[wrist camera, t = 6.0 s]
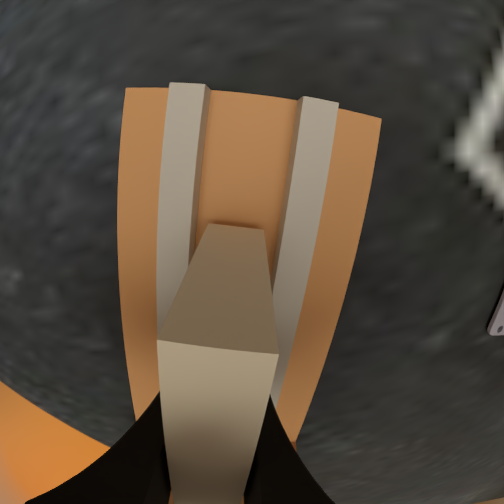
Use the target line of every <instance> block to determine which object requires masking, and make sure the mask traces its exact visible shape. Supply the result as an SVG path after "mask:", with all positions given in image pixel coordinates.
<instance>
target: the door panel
mask: <svg viewBox="0 0 504 504" xmlns="http://www.w3.org/2000/svg"><path fill="white" fill-rule="evenodd" d="M157 354H158V372H159V386H160V399H161V410H162V420H163V430H164V439H165V447H166V455H167V463H168V470H169V477H170V483H171V490H172V496H173V501H174V504H241V501H242V497H243V494H244V491H245V487H246V483H247V480H248V476H249V473H250V469H251V465H252V462H253V458H254V454H255V451H256V447H257V443H258V439H259V435H260V431H261V427H262V424H263V420H264V416H265V412H266V407H267V403H268V399H269V395H270V391H271V387H272V383H273V378H274V374H275V370H276V365H277V361H278V357H279V350H278V341H277V333H276V324H275V316H274V307H273V299H272V291H271V283H270V275H269V267H268V259H267V251H266V243H265V235H264V230H262V229H254V228H245V227H237V226H228V225H220V224H211V223H208V225H207V227H206V229H205V232H204V234H203V236H202V238H201V240H200V242H199V244H198V247H197V249H196V251H195V253H194V255H193V258H192V260H191V262H190V264H189V266H188V269H187V271H186V273H185V275H184V278H183V280H182V282H181V284H180V287H179V289H178V291H177V293H176V296H175V298H174V300H173V303H172V305H171V307H170V310H169V312H168V314H167V317H166V319H165V321H164V324H163V326H162V328H161V331H160V333H159V336H158V338H157Z"/></svg>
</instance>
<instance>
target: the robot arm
mask: <svg viewBox="0 0 504 504" xmlns="http://www.w3.org/2000/svg"><path fill="white" fill-rule="evenodd" d="M487 331H488V333H489V334H490V335H492V336H495V335H504V290H503V293H502V295H501V298H500V300H499V303H498V305H497V307H496V310H495V312H494V314H493V317H492V319H491V321H490V323H489V326H488V329H487ZM170 494H171V483H170V477H169V470H168V463H167V455H166V447H165V439H164V430H163V420H162V410H161V399H160V391H159V392H158V394H157V395H156V397H155V398H154V399H153V401H152V402H151V404H150V405H149V406H148V407H147V409H146V410H145V411H144V412H143V414H142V415H141V416H140V417H139V419H138V420H137V421H136V422H135V423H134V424H133V426H132V427H131V428H130V429H129V430H128V431H127V432H126V433H125V434H124V435H123V436H122V437H121V438H120V439H119V440H118V441H117V442H116V443H115V444H114V445H113V446H112V447H111V448H110V449H109V450H108V451H107V452H106V453H104V454H103V455H102V456H101V457H100V458H98V459H97V460H96V461H95V462H93V463H92V464H91V465H90V466H88V467H87V468H86V469H84V470H83V471H81V472H80V473H79V474H77V475H75V476H74V477H72V478H71V479H69V480H67V481H66V482H64V483H63V484H61V485H59V486H58V487H56V488H54V489H52V490H50V491H48V492H46V493H44V494H42V495H39V496H37V497H35V498H33V499H31V500H28V501H27V502H25V504H169V498H170ZM243 496H244V504H335V503H334V502H333V501H332V500H331V499H330V498H329V497H328V496H327V494H326V493H325V492H324V491H323V490H322V488H321V487H320V486H319V485H318V483H317V482H316V481H315V479H314V478H313V477H312V475H311V474H310V473H309V471H308V470H307V468H306V467H305V465H304V464H303V462H302V461H301V459H300V457H299V456H298V454H297V452H296V451H295V449H294V447H293V445H292V444H291V442H290V440H289V438H288V436H287V434H286V432H285V430H284V428H283V426H282V424H281V421H280V419H279V417H278V414H277V412H276V409H275V407H274V404H273V401H272V398H271V395H269V399H268V403H267V407H266V412H265V416H264V420H263V424H262V427H261V431H260V435H259V439H258V443H257V447H256V451H255V454H254V458H253V462H252V465H251V469H250V473H249V476H248V480H247V483H246V487H245V491H244V494H243Z"/></svg>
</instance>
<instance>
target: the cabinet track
mask: <svg viewBox="0 0 504 504" xmlns="http://www.w3.org/2000/svg"><path fill="white" fill-rule="evenodd" d="M338 105H339V103H337V102H332V101H327V100H322V99H317V98H312V97H306V96H303V97H301V98H300V99H299V100H291V99H285V98H278V97H271V96H264V95H256V94H247V93H238V92H228V91H216V90H210V89H209V87H208V86H207V85H206V84H194V83H170V85H169V88H126V92H125V100H124V109H123V118H122V129H121V141H120V155H119V173H118V207H117V236H118V270H119V289H120V303H121V315H122V326H123V336H124V345H125V353H126V361H127V368H128V375H129V382H130V388H131V394H132V400H133V406H134V411H135V417H136V421H137V420H138V419H139V417H140V416H141V415H142V414H143V412H144V411H145V410H146V409H147V407H148V406H149V405H150V404H151V402H152V401H153V399H154V398H155V397H156V395H157V394H158V392H159V391H160V386H159V372H158V354H157V338H158V336H159V333H160V331H161V328H162V326H163V324H164V321H165V319H166V317H167V314H168V312H169V310H170V307H171V305H172V303H173V300H174V298H175V296H176V293H177V291H178V289H179V287H180V284H181V282H182V280H183V278H184V275H185V273H186V271H187V269H188V266H189V264H190V262H191V260H192V258H193V255H194V253H195V251H196V249H197V247H198V244H199V242H200V240H201V238H202V236H203V234H204V232H205V229H206V227H207V225H208V223H211V224H220V225H228V226H237V227H245V228H254V229H262V230H264V235H265V243H266V251H267V259H268V267H269V275H270V283H271V291H272V299H273V307H274V316H275V324H276V333H277V341H278V350H279V357H278V361H277V365H276V370H275V374H274V378H273V383H272V387H271V391H270V395H271V398H272V401H273V404H274V407H275V409H276V412H277V414H278V417H279V419H280V421H281V424H282V426H283V428H284V430H285V432H286V434H287V436H288V438H289V440H290V442H291V444H292V445H293V447H294V449H295V451H296V452H297V450H296V442H295V441H296V439H297V436H298V434H299V431H300V429H301V426H302V424H303V421H304V419H305V416H306V413H307V411H308V408H309V405H310V403H311V400H312V397H313V394H314V392H315V389H316V386H317V383H318V380H319V377H320V374H321V372H322V369H323V366H324V363H325V360H326V357H327V353H328V350H329V347H330V344H331V341H332V338H333V334H334V331H335V328H336V325H337V321H338V318H339V314H340V311H341V308H342V304H343V300H344V297H345V293H346V290H347V286H348V282H349V278H350V275H351V271H352V267H353V263H354V259H355V255H356V251H357V247H358V242H359V238H360V234H361V229H362V225H363V220H364V216H365V211H366V206H367V201H368V196H369V191H370V186H371V181H372V175H373V170H374V164H375V159H376V153H377V146H378V140H379V134H380V127H381V120H382V119H380V118H377V117H373V116H369V115H365V114H361V113H357V112H352V111H348V110H343V109H339V108H338ZM169 504H174V501H173V496H172V490H171V494H170V498H169ZM241 504H244V496H243V497H242V501H241Z"/></svg>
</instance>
